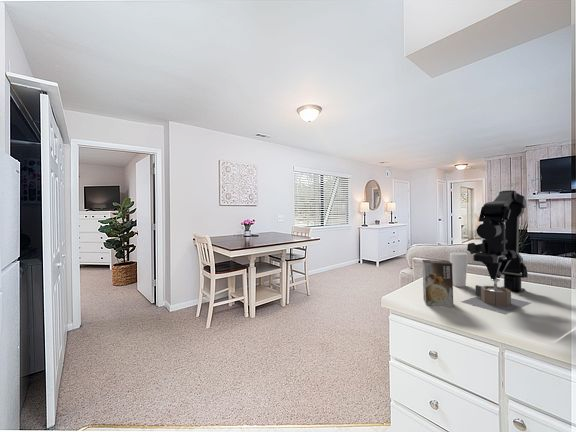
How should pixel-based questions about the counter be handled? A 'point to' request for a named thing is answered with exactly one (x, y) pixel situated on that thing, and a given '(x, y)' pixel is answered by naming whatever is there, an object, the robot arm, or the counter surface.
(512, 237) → the robot arm
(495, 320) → the counter surface
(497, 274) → the silver stemmed round piece
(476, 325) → the counter surface
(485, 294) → the brown octagonal ring
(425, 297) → the coffee box
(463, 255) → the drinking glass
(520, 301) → the mat
